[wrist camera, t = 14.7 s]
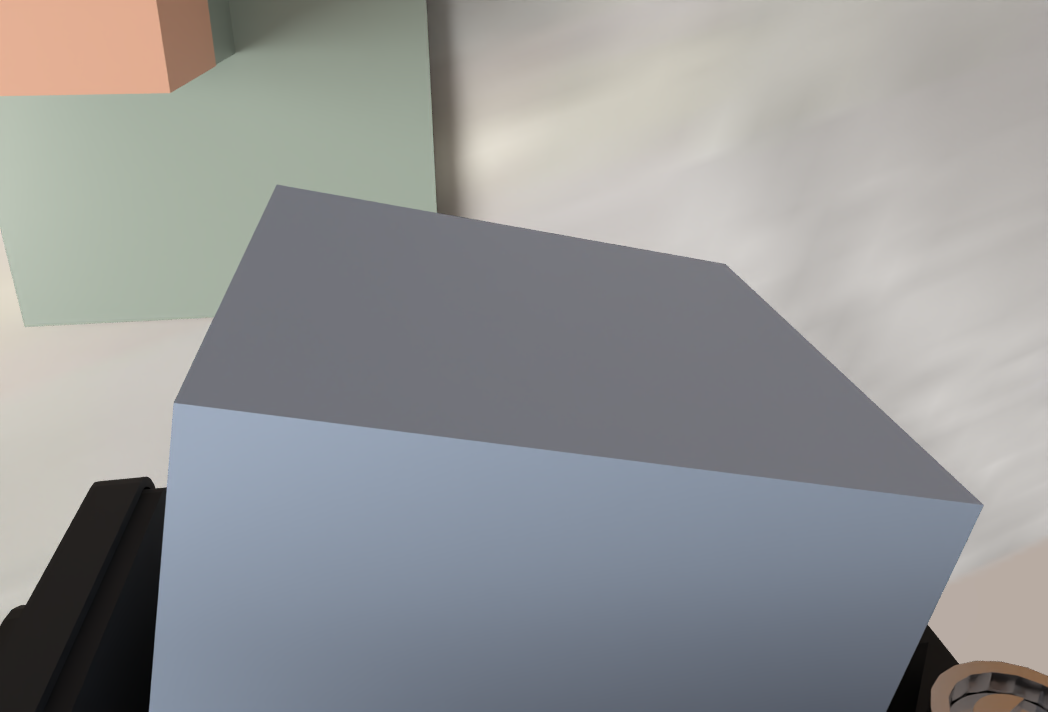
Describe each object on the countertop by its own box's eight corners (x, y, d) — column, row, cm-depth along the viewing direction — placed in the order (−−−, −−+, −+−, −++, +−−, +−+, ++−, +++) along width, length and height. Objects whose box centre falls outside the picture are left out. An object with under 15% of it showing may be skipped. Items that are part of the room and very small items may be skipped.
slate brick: (725, 263, 10) (983, 506, 6) (564, 777, 13) (654, 1201, 9) (276, 184, 9) (175, 404, 5) (210, 760, 12) (107, 1229, 8)
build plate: (412, -270, 24) (413, -309, 21) (440, 295, 31) (444, 340, 27) (-107, -277, 23) (-203, -320, 19) (36, 315, 30) (-16, 366, 26)
